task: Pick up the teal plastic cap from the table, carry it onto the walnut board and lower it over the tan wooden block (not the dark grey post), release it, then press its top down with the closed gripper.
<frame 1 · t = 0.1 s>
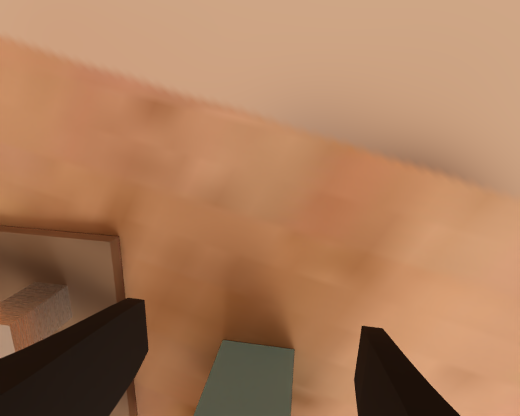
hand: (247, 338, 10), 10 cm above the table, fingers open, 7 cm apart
tan wooden block: (53, 299, 23), resting on walnut board
walnut board: (74, 357, 25), on the table
teal cap: (257, 373, 23), on the table
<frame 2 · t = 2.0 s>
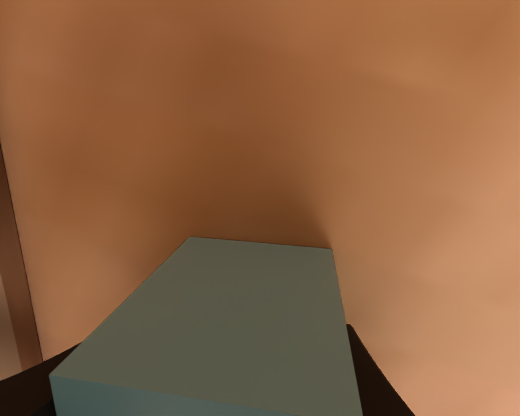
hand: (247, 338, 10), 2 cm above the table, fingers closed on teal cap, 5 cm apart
teal cap: (256, 305, 12), on the table, touching gripper
when the fingers open (4 cm above the table, at t = 6.3 s): teal cap stays where it is, resting on walnut board.
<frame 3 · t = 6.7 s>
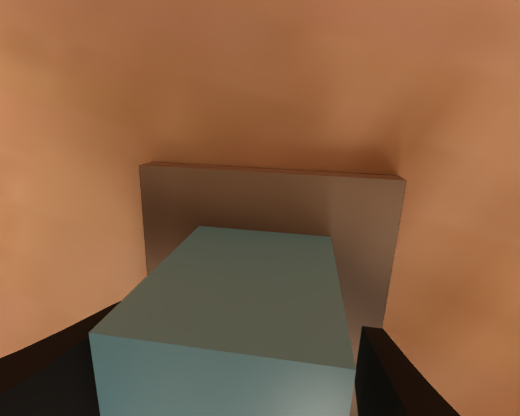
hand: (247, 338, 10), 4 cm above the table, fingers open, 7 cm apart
walnut board: (259, 387, 15), on the table
teal cap: (260, 290, 13), point 1 cm above the table, touching walnut board
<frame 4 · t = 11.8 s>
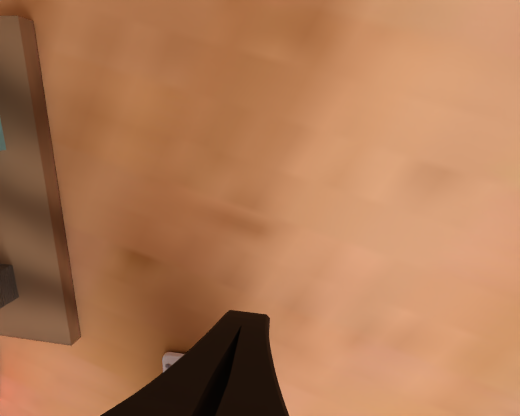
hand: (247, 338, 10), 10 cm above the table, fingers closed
dark grey post: (0, 279, 23), resting on walnut board
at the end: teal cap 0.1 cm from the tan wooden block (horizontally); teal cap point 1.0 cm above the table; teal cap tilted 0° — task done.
